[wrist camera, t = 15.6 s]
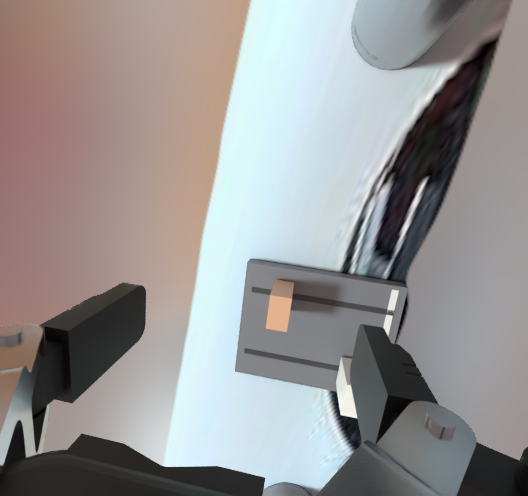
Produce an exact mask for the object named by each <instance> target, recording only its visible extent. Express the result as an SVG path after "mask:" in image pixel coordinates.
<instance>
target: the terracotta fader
mask: <svg viewBox="0 0 528 496" xmlns="http://www.w3.org/2000/svg"><path fill="white" fill-rule="evenodd" d="M293 287H294V282H289V281H283V280H276V279H275V282H274V285H273V288H272V291H271V294H270V300H269V307H268V315H267V322H266V329H271V330H277V331H282V332H287V328H288V322H289V315H290V309H291V302H292V295H293Z"/></svg>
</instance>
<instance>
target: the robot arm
mask: <svg viewBox="0 0 528 496" xmlns="http://www.w3.org/2000/svg"><path fill="white" fill-rule="evenodd" d="M472 1H473V0H358V1H357V4H356V8H355V11H354V15H353V20H352V38H353V42H354V45H355V47H356V49H357V51H358V53H359V55H360V56H361V57H362V58H363V59H364V60H365V61H366V62H368V63H369V64H370V65H372V66H374V67H377V68H380V69H386V70H392V69H399V68H403V67H406V66H408V65H410V64H412V63H414V62H415V61H417V60H418V59H419V58H420V57H422V56H423V55H424V54H425V53H426V52H427V51H428V49H429V48H430V47H431V46H432V45H433V44H434V43H435V42H436V41H437V39H438V38H439V37H440V36H441V35H442V34H443V33H444V32H445V31H446V30H447V29H448V28H449V26H450V25H451V24H452V23H453V22H454V21H455V20H456V19H457V18H458V17H459V15H460V14H461V13H462V12H463V11H464V10H465V9H466V8H467V7H468V5H469V4H470V3H471V2H472ZM145 307H146V291H145V288H144V287H143V286H140V285H134V284H128V283H121V284H119V285H117V286H116V287H114V288H112V289H110V290H108V291H107V292H105V293H103V294H100V295H97V296H93V297H91V298H89V299H87V300H85V301H83V302H82V303H80V305H76V306H74V307H73V308H71V309H70V310H67V311H65V312H63V313H61V314H59V315H58V316H56V317H54V318H52V319H51V320H48V321H47V322H45V323H43V324H41V325H36V324H30V323H21V324H12V325H7V326H3V327H0V496H262V495H263V489H264V482H265V478H264V477H260V476H255V475H251V474H247V473H243V472H239V471H235V470H231V469H226V468H222V467H218V466H207V467H164V466H161V465H159V464H157V463H156V462H154V461H152V460H150V459H149V458H147V457H145V456H144V455H142V454H140V453H139V452H137V451H135V450H134V449H132V448H130V447H129V446H127V445H125V444H122V443H118V442H114V441H110V440H106V439H102V438H97V437H93V436H89V435H85V434H81V435H80V436H79V437H78V438H77V439H76V441H75V442H74V443H73V444H72V445H71V446H70V448H68V450H58V451H50V452H46V453H42V451H43V446H44V440H45V435H46V429H47V424H48V418H49V403H50V402H52V400H54V399H56V400H60V401H64V402H69V403H73V402H74V401H75V400H76V399H77V398H78V397H79V396H80V395H81V394H82V393H84V392H85V391H86V390H87V389H88V388H89V387H90V386H91V385H92V384H93V383H94V382H95V381H96V380H97V379H98V378H99V377H101V376H102V375H103V374H104V373H105V372H106V371H107V370H108V369H109V368H110V367H111V366H112V365H113V364H114V363H115V362H116V361H117V360H118V359H120V357H122V356H123V355H124V354H125V353H126V352H127V351H128V350H129V349H130V348H131V347H132V346H133V345H134V344H135V343H136V342H138V341H139V339H140V338H141V336H142V334H143V332H144V329H145V313H146V312H145V310H146V308H145ZM350 383H351V388H352V393H353V398H354V403H355V408H356V413H357V418H358V423H359V428H360V433H361V438H362V444H361V445H360V446H359V448H358V449H357V450H356V451H355V452H354V453H353V454H352V456H351V457H350V458H349V459H348V460H347V461H346V462H345V464H344V465H343V466H342V467H341V468H340V469H339V470H338V472H337V473H336V474H335V475H334V476H333V477H332V478H331V480H330V481H329V482H328V483H327V484H326V485H325V486H324V487H323V489H322V490H321V491H320V492H319V493H318V494H317V495H316V496H528V447H527V448H526V449H525V450H524V451H523V454H522V456H521V459H520V461H519V460H516V459H514V458H511V457H509V456H507V455H504V454H502V453H499V452H497V451H495V450H493V449H490V448H488V447H486V446H483V445H481V444H479V443H477V442H476V437H475V434H474V432H473V431H472V429H471V428H470V427H469V426H468V424H467V423H466V422H465V421H464V420H463V419H461V418H460V417H459V416H458V415H456V414H455V413H453V412H452V411H450V410H448V409H447V408H445V407H442V406H440V405H439V404H438V403H437V401H436V399H435V397H434V396H433V394H432V392H431V390H430V389H429V387H428V385H427V383H426V382H425V380H424V378H423V377H421V373H420V371H419V369H418V368H416V364H415V362H414V361H413V359H412V357H411V355H410V354H409V353H408V352H406V351H405V350H404V349H403V348H402V347H401V346H400V345H397V344H392V343H391V341H390V339H389V337H388V335H387V333H386V331H385V329H384V328H383V327H377V326H371V325H365V324H360V326H359V329H358V333H357V337H356V342H355V347H354V351H353V356H352V361H351V367H350Z"/></svg>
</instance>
